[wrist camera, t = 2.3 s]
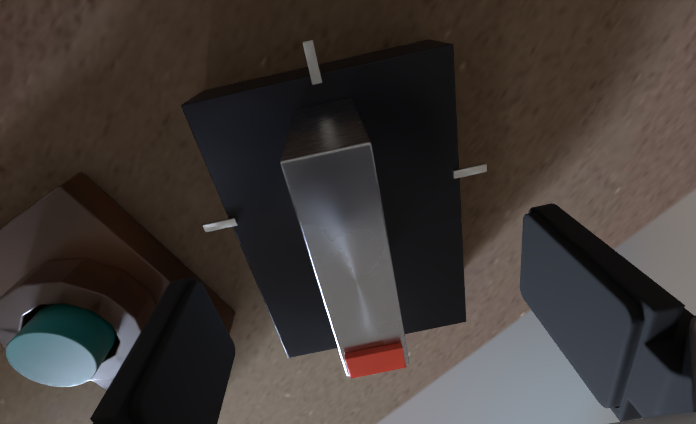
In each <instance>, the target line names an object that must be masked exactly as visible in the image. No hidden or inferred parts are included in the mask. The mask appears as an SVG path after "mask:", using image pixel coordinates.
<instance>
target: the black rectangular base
mask: <svg viewBox="0 0 696 424" xmlns="http://www.w3.org/2000/svg"><path fill="white" fill-rule="evenodd" d="M303 47H304V52H305V56H306V60H307V64H308V67H305V68H301V69H297V70H292V71H288V72H283V73H279V74H274V75H270V76H266V77H261V78H257V79H252V80H248V81H243V82H239V83H235V84H230V85H226V86H221V87H217V88H213V89H208V90H204V91H202V92H201V93H199V94H198V95H196V96H195V97H193V98H191V99H190V100H188V101H187V102H185V103H183V104H182V105H181V107H182V109H183V112H184V114H185V116H186V119H187V121H188V123H189V126H190V128H191V131H192V133H193V135H194V138H195V140H196V142H197V145H198V147H199V149H200V152H201V154H202V156H203V159H204V161H205V163H206V166H207V168H208V170H209V173H210V175H211V177H212V180H213V182H214V185H215V187H216V189H217V192H218V194H219V196H220V199H221V201H222V203H223V206H224V208H225V210H226V213H227V215H228V217H229V218H227V219H223V220H218V221H213V222H209V223H204V224H203V225H202V226H203V228H204V230H205V232H209V231H214V230H218V229H223V228H228V227H233V229H234V231H235V234H236V236H237V239H238V241H239V243H240V246H241V248H242V250H243V253H244V255H245V257H246V260H247V262H248V264H249V267H250V269H251V271H252V274H253V276H254V278H255V281H256V283H257V286H258V288H259V290H260V293H261V295H262V297H263V300H264V302H265V304H266V307H267V309H268V311H269V314H270V316H271V318H272V321H273V323H274V325H275V328H276V330H277V332H278V335H279V337H280V340H281V342H282V344H283V347H284V349H285V351H286V354H287V356H288V358H290V357H295V356H300V355H305V354H310V353H315V352H320V351H325V350H330V349H334V348H338V346H337V343H336V340H335V337H334V333H333V330H332V327H331V324H330V321H329V318H328V314H327V311H326V308H325V305H324V302H323V298H322V295H321V292H320V289H319V286H318V283H317V279H316V276H315V273H314V270H313V267H312V264H311V260H310V257H309V254H308V251H307V248H306V244H305V241H304V238H303V235H302V232H301V229H300V225H299V222H298V219H297V216H296V213H295V209H294V206H293V203H292V200H291V197H290V194H289V190H288V187H287V184H286V181H285V178H284V174H283V171H282V168H281V165H280V161H281V157H282V153H283V149H284V145H285V141H286V137H287V133H288V129H289V125H290V122H291V118H292V114H293V110H294V109H299V108H303V107H308V106H312V105H317V104H321V103H326V102H330V101H335V100H339V99H344V98H348V97H351V99H352V101H353V103H354V105H355V107H356V110H357V112H358V114H359V116H360V119H361V121H362V123H363V125H364V128H365V130H366V132H367V134H368V137H369V139H370V141H371V143H372V149H373V154H374V160H375V166H376V172H377V178H378V183H379V189H380V195H381V201H382V207H383V212H384V218H385V224H386V230H387V236H388V241H389V247H390V253H391V259H392V265H393V270H394V276H395V282H396V288H397V294H398V299H399V305H400V311H401V317H402V323H403V328H404V334H408V333H413V332H418V331H423V330H428V329H433V328H437V327H442V326H447V325H452V324H457V323H462V322H466V307H465V285H464V264H463V243H462V222H461V201H460V180H459V178H460V177H465V176H469V175H474V174H479V173H483V172H487V164H486V163H482V164H478V165H473V166H468V167H464V168H459V159H458V138H457V117H456V95H455V74H454V53H453V44H450V43H445V42H439V41H433V40H425V41H420V42H416V43H412V44H407V45H403V46H398V47H394V48H389V49H385V50H381V51H376V52H372V53H367V54H363V55H358V56H354V57H350V58H345V59H341V60H336V61H332V62H328V63H323V64H319V65H318V61H317V57H316V52H315V48H314V43H313V40H310V41H305V42H303Z"/></svg>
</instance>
